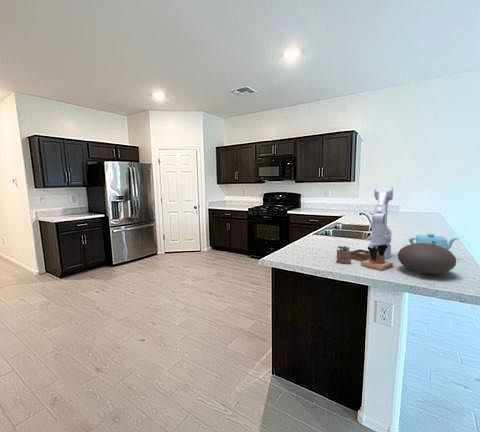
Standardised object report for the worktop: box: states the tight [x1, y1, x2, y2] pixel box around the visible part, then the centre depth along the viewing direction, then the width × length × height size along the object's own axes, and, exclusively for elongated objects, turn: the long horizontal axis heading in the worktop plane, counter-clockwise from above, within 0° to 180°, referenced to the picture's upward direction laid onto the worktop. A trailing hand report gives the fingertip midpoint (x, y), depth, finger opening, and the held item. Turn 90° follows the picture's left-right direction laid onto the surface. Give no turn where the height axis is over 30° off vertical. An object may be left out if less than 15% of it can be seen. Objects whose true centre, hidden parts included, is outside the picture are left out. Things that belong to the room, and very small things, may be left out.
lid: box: [360, 255, 394, 271], centre depth 148 cm, size 12×12×6 cm
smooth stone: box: [397, 242, 457, 275], centre depth 136 cm, size 25×25×15 cm
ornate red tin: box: [335, 245, 352, 265], centre depth 154 cm, size 8×3×10 cm, turn 59°
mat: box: [360, 264, 394, 272], centre depth 148 cm, size 12×12×1 cm
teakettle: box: [408, 233, 460, 251], centre depth 162 cm, size 19×19×15 cm
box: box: [350, 248, 370, 262], centre depth 162 cm, size 10×10×4 cm
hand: (377, 258), depth 147 cm, fingers open, 7 cm apart
